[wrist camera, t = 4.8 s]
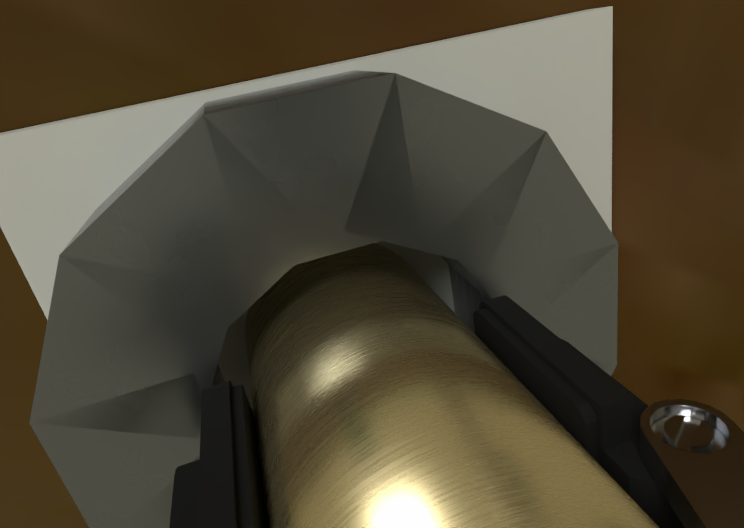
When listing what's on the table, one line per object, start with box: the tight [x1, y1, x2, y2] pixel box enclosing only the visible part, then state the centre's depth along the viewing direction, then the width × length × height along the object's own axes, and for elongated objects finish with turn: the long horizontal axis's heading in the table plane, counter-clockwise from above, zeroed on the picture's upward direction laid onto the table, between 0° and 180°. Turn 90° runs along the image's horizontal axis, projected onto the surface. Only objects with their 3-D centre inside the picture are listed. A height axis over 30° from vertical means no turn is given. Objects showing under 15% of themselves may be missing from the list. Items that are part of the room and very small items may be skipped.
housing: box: [30, 70, 618, 528], centre depth 13 cm, size 13×13×3 cm
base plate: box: [0, 6, 613, 409], centre depth 16 cm, size 15×22×1 cm
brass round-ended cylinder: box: [245, 243, 660, 528], centre depth 10 cm, size 5×5×10 cm
